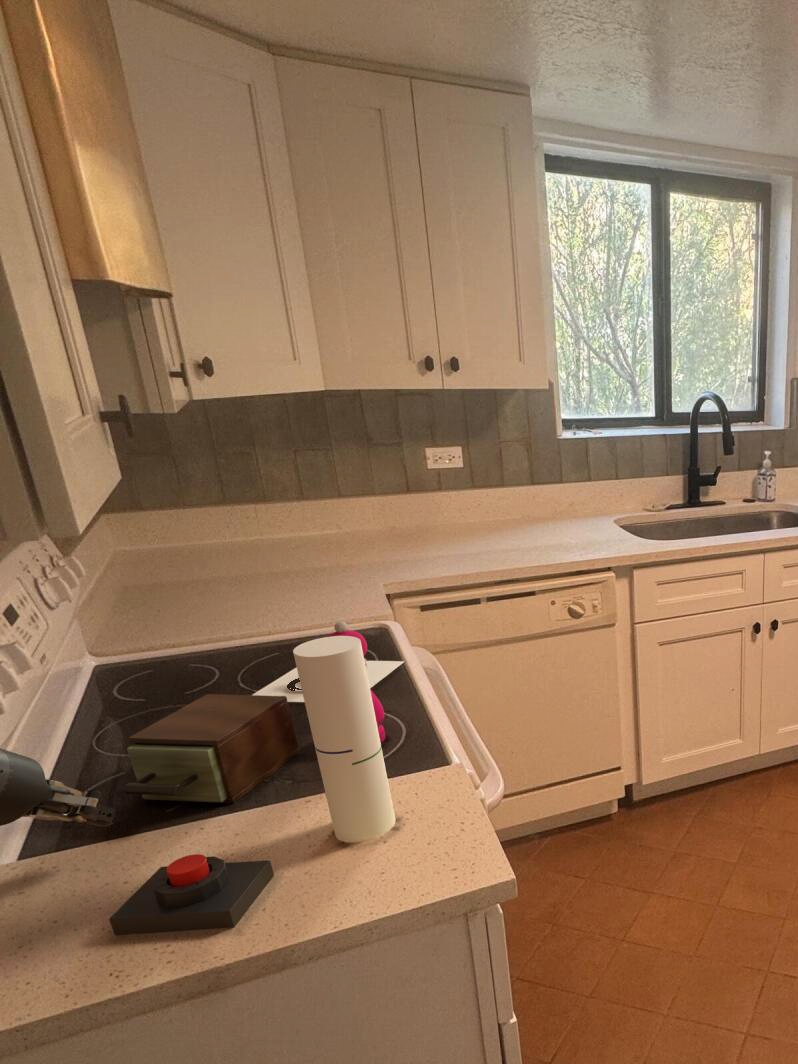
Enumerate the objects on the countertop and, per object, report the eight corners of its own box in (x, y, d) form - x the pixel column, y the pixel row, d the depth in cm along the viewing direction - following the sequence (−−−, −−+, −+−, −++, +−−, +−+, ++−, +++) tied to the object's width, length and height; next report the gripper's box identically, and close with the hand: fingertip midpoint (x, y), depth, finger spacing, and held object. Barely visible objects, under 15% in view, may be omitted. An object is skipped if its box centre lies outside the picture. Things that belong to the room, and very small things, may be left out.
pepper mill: (342, 734, 126) (317, 617, 119) (391, 728, 128) (369, 612, 121) (335, 755, 119) (308, 632, 112) (386, 748, 121) (362, 626, 114)
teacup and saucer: (306, 674, 150) (302, 654, 148) (346, 675, 149) (342, 655, 148) (277, 693, 142) (272, 672, 140) (320, 694, 141) (315, 673, 140)
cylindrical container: (338, 817, 103) (298, 640, 94) (396, 807, 105) (363, 632, 97) (331, 847, 97) (288, 660, 88) (394, 835, 99) (357, 651, 90)
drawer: (198, 819, 101) (183, 766, 99) (116, 816, 102) (98, 763, 99) (285, 754, 118) (274, 707, 115) (214, 752, 119) (201, 705, 116)
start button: (163, 888, 84) (158, 875, 83) (182, 868, 87) (178, 855, 87) (198, 886, 84) (194, 873, 84) (216, 866, 88) (212, 853, 87)
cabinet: (233, 803, 107) (216, 740, 103) (147, 800, 108) (127, 737, 104) (299, 752, 120) (286, 695, 117) (222, 750, 121) (207, 693, 118)
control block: (114, 936, 82) (103, 904, 81) (166, 882, 91) (156, 853, 89) (234, 928, 83) (225, 897, 82) (274, 875, 92) (266, 846, 90)
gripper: (46, 746, 80) (170, 789, 96) (-73, 743, 81) (69, 785, 96) (13, 820, 77) (147, 851, 92) (-110, 815, 78) (43, 847, 93)
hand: (107, 818), depth 94 cm, fingers closed
